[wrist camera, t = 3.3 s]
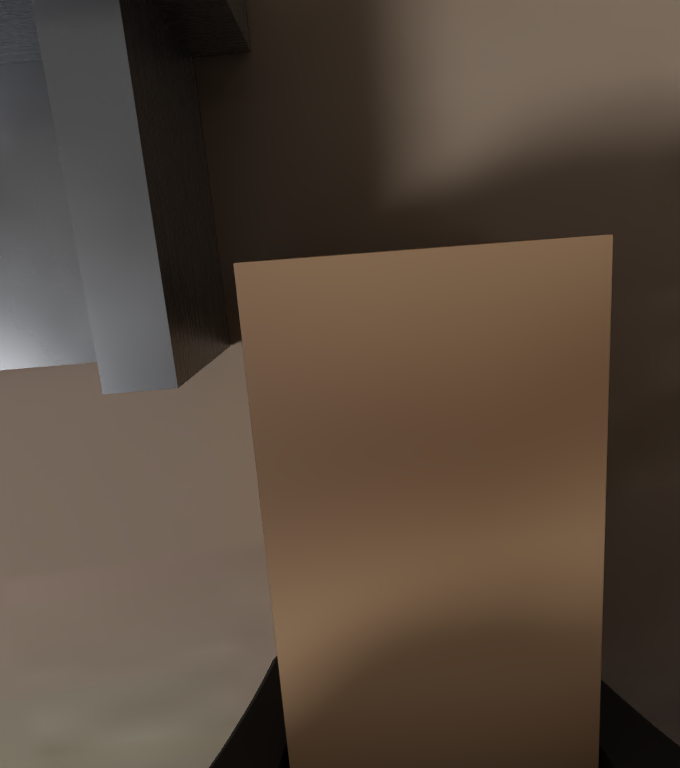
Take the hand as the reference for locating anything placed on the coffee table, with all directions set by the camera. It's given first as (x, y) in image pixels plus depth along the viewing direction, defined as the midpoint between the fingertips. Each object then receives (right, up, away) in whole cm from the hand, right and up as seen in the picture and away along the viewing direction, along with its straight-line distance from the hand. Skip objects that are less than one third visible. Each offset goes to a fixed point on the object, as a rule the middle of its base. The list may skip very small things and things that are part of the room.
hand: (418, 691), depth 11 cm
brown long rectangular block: (0, 0, +2) cm, 2 cm away
